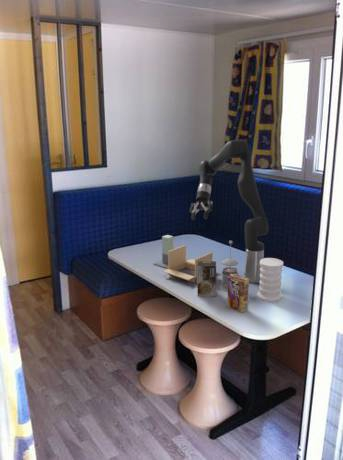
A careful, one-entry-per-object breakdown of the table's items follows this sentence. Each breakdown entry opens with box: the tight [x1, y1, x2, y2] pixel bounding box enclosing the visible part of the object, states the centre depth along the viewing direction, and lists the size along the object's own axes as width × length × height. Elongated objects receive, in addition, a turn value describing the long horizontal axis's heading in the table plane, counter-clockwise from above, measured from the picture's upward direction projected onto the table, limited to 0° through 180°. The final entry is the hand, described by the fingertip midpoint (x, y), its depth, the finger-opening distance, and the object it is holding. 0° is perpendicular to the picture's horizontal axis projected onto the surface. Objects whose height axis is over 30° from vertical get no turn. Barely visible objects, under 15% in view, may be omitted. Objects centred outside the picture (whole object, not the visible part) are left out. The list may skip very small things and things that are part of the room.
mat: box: [152, 259, 168, 270], centre depth 258 cm, size 12×12×1 cm
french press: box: [219, 240, 239, 293], centre depth 221 cm, size 10×12×25 cm
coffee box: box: [196, 260, 217, 298], centre depth 216 cm, size 9×6×16 cm
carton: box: [162, 244, 218, 284], centre depth 240 cm, size 19×24×13 cm
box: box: [161, 234, 174, 265], centre depth 255 cm, size 4×4×16 cm
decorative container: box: [256, 257, 284, 303], centre depth 212 cm, size 12×12×18 cm
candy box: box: [226, 274, 250, 313], centre depth 201 cm, size 9×4×15 cm, turn 47°
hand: (199, 219), depth 249 cm, fingers open, 8 cm apart
